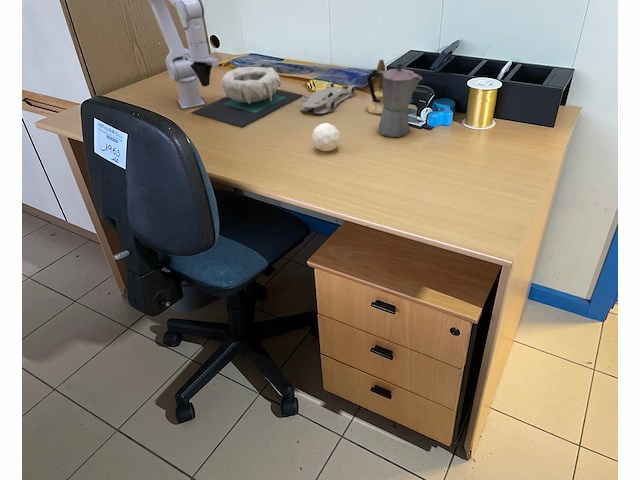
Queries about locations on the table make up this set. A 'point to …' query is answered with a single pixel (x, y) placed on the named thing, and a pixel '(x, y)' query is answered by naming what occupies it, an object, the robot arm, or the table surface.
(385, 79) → the moka pot
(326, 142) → the ball
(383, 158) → the table surface
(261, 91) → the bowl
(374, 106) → the hand bell
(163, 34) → the robot arm
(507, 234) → the table surface
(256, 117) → the mat
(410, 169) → the table surface
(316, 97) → the car model
